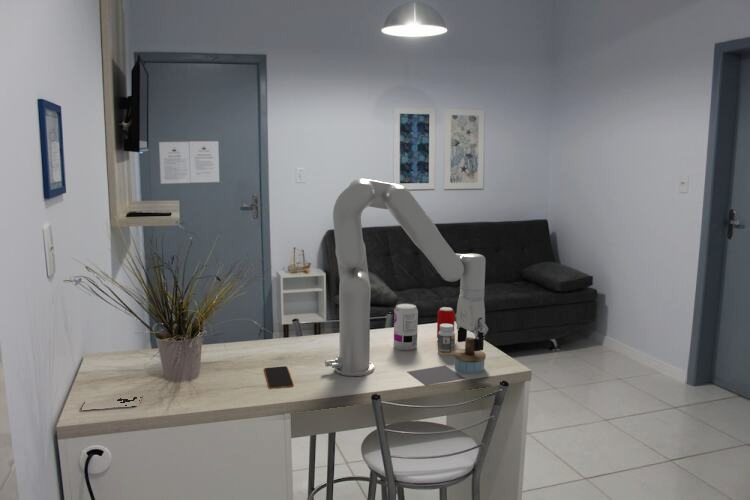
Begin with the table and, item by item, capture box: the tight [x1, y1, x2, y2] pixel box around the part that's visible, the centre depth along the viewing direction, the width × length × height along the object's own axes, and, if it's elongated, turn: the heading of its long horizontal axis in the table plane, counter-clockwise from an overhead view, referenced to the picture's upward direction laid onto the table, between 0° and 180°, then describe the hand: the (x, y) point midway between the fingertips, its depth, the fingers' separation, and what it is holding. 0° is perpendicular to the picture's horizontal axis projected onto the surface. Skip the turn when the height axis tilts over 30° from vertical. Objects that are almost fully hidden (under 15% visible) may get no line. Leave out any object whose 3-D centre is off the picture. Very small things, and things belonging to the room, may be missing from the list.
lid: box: [453, 336, 486, 362], centre depth 199 cm, size 10×10×6 cm
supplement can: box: [393, 303, 419, 351], centre depth 219 cm, size 8×8×15 cm
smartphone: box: [263, 365, 295, 389], centre depth 191 cm, size 8×17×1 cm, turn 15°
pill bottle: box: [437, 324, 456, 356], centre depth 214 cm, size 6×6×10 cm
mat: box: [406, 365, 466, 387], centre depth 194 cm, size 14×12×1 cm
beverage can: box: [436, 306, 456, 339], centre depth 228 cm, size 6×6×12 cm
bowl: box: [454, 358, 485, 374], centre depth 200 cm, size 9×9×4 cm
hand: (470, 345), depth 199 cm, fingers open, 9 cm apart
